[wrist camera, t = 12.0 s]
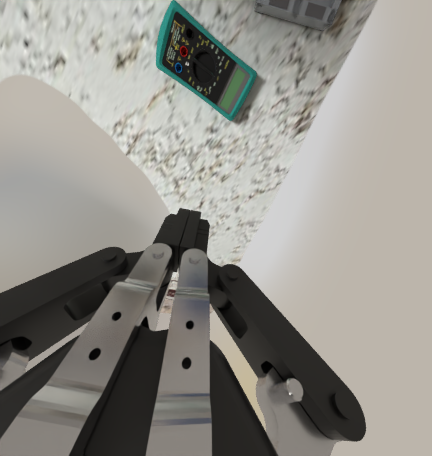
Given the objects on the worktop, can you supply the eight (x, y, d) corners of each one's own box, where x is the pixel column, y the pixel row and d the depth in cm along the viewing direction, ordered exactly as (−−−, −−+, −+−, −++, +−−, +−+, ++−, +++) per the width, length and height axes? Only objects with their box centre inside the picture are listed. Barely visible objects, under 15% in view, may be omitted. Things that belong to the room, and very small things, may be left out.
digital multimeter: (172, 2, 22) (166, -9, 20) (256, 76, 27) (259, 73, 24) (156, 66, 27) (150, 63, 24) (231, 121, 31) (232, 123, 28)
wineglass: (168, 256, 55) (157, 288, 46) (187, 255, 54) (180, 288, 45) (174, 269, 59) (164, 300, 50) (192, 268, 58) (186, 300, 49)
